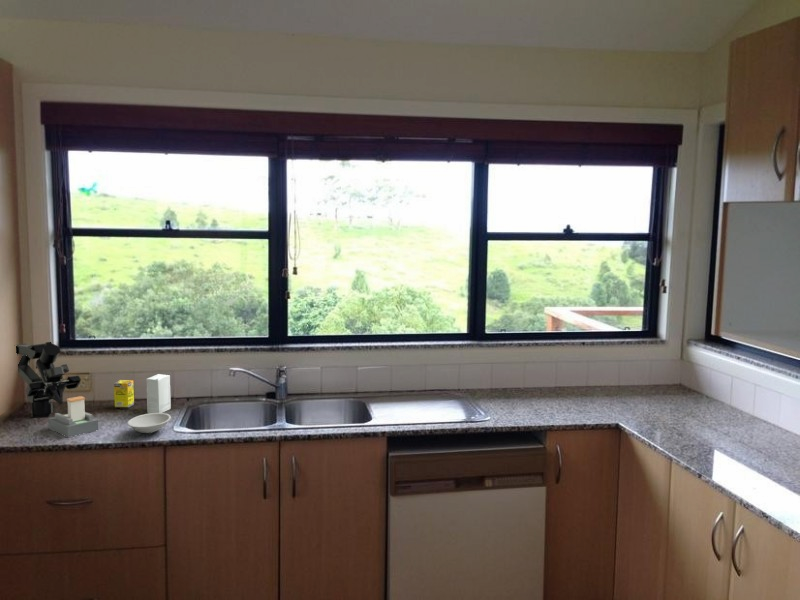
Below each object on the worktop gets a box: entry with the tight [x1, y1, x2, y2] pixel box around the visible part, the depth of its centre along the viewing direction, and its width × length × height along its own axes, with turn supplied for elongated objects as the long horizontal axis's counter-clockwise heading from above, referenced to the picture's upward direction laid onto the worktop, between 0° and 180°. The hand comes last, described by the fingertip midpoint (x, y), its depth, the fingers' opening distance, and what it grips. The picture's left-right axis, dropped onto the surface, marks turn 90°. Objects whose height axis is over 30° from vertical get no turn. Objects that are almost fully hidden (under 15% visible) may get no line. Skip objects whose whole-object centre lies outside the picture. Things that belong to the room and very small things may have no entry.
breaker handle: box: [66, 395, 86, 422], centre depth 237 cm, size 3×5×8 cm, turn 141°
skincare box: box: [145, 373, 172, 414], centre depth 264 cm, size 8×6×15 cm
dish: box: [127, 412, 172, 434], centre depth 237 cm, size 18×14×5 cm
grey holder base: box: [48, 411, 99, 438], centre depth 240 cm, size 16×11×6 cm
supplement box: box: [113, 379, 135, 410], centre depth 270 cm, size 6×6×11 cm
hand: (61, 403), depth 245 cm, fingers closed
